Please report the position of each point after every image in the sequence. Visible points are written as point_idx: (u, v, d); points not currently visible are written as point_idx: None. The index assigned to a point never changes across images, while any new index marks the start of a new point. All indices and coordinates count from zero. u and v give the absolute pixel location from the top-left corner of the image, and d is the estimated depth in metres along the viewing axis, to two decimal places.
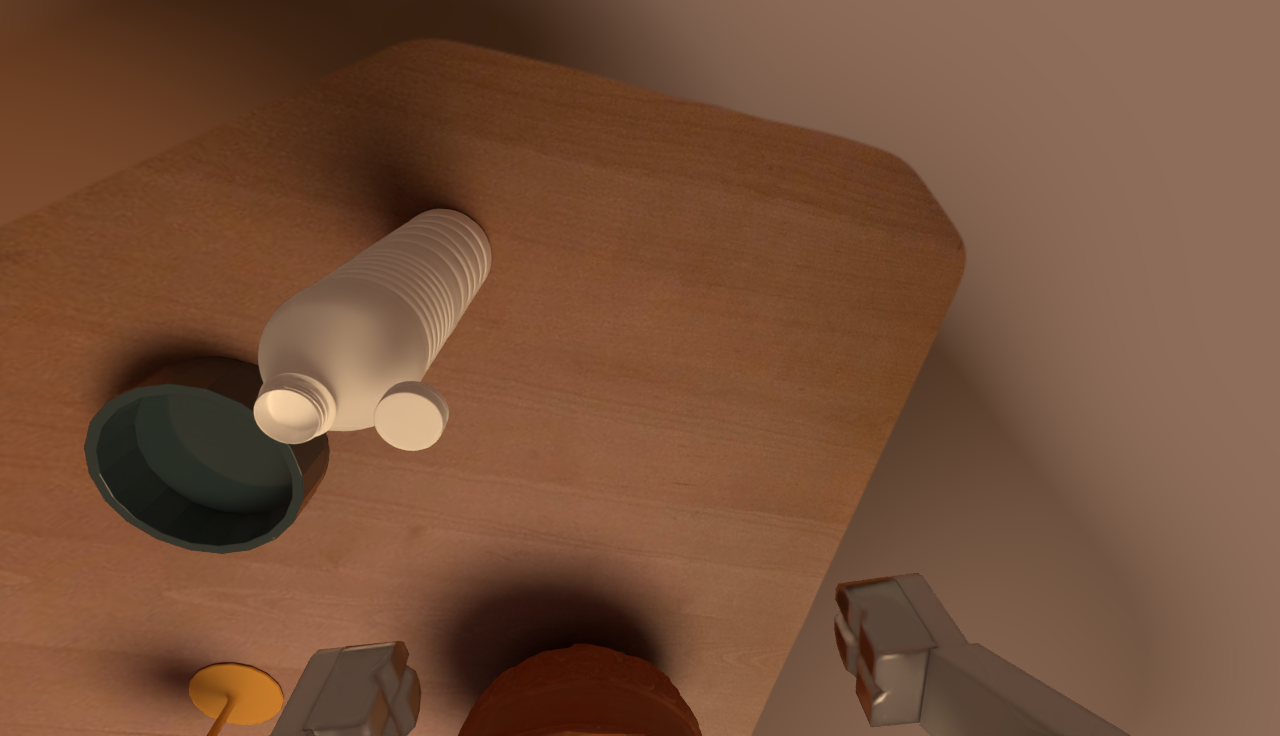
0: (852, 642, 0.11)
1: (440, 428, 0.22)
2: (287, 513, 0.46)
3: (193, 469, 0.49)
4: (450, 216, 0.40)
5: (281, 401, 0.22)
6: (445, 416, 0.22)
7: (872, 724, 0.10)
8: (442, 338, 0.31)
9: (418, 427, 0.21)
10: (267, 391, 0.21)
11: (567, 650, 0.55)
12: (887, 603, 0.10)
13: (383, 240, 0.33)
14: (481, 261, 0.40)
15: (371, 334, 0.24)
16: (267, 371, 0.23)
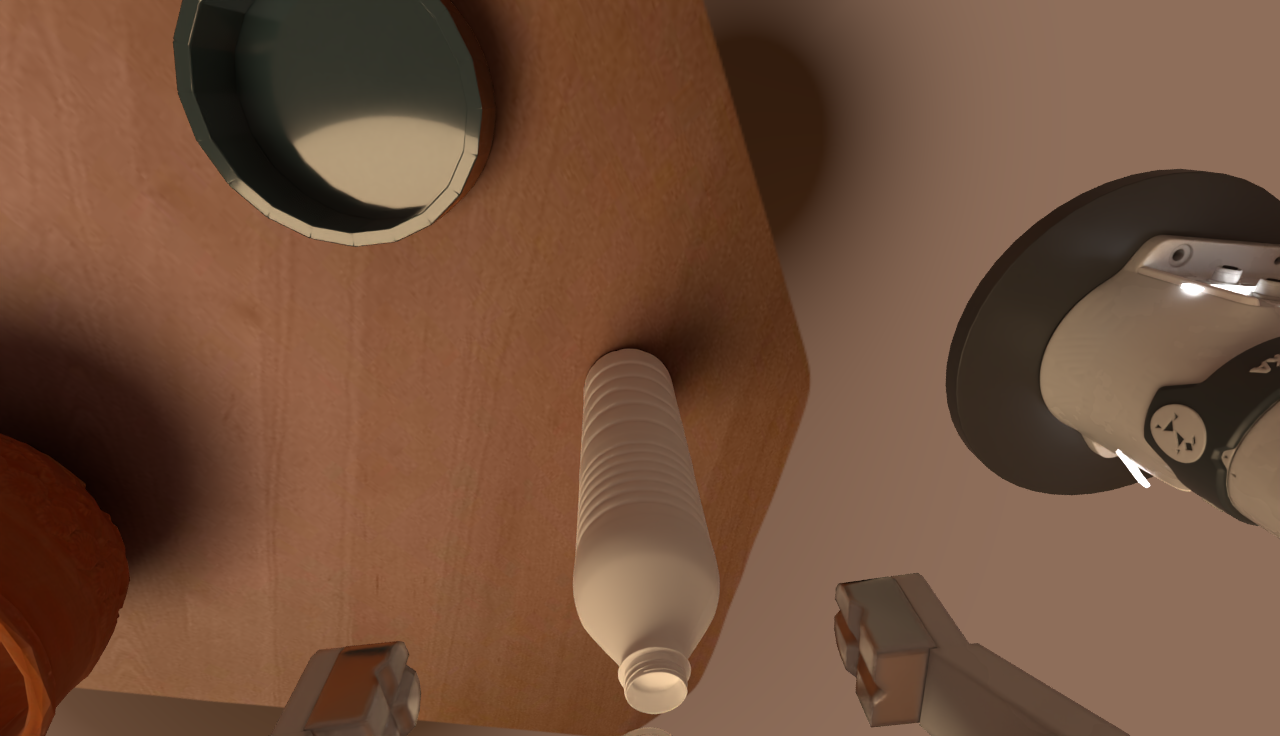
0: (852, 641, 0.11)
1: None
2: (282, 213, 0.33)
3: (311, 35, 0.33)
4: None
5: None
6: None
7: (872, 724, 0.10)
8: None
9: None
10: (685, 684, 0.21)
11: (107, 526, 0.41)
12: (887, 603, 0.10)
13: (687, 448, 0.35)
14: None
15: None
16: (674, 614, 0.23)
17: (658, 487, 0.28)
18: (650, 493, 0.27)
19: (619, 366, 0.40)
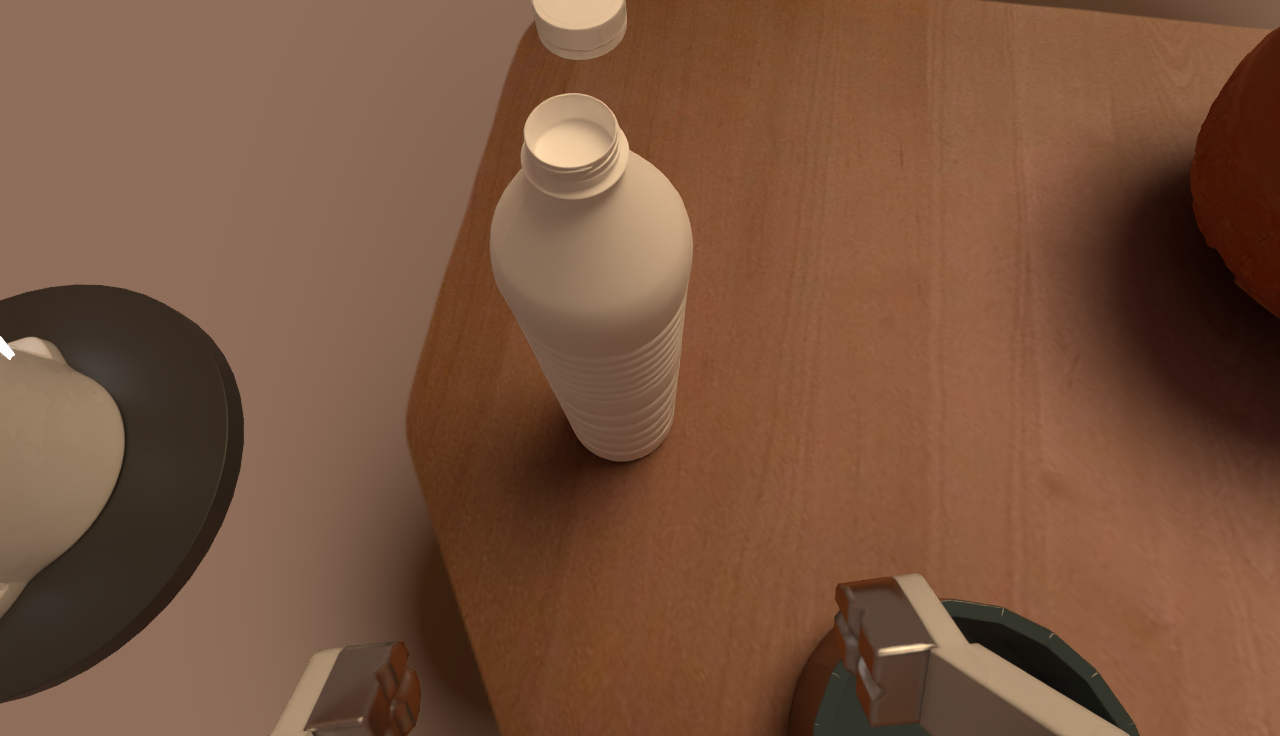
0: (852, 641, 0.11)
1: None
2: (1035, 637, 0.28)
3: None
4: None
5: None
6: None
7: (873, 725, 0.10)
8: None
9: None
10: (527, 145, 0.14)
11: (1214, 236, 0.35)
12: (886, 603, 0.10)
13: None
14: None
15: None
16: (549, 235, 0.16)
17: (581, 369, 0.21)
18: (592, 365, 0.20)
19: (634, 449, 0.34)
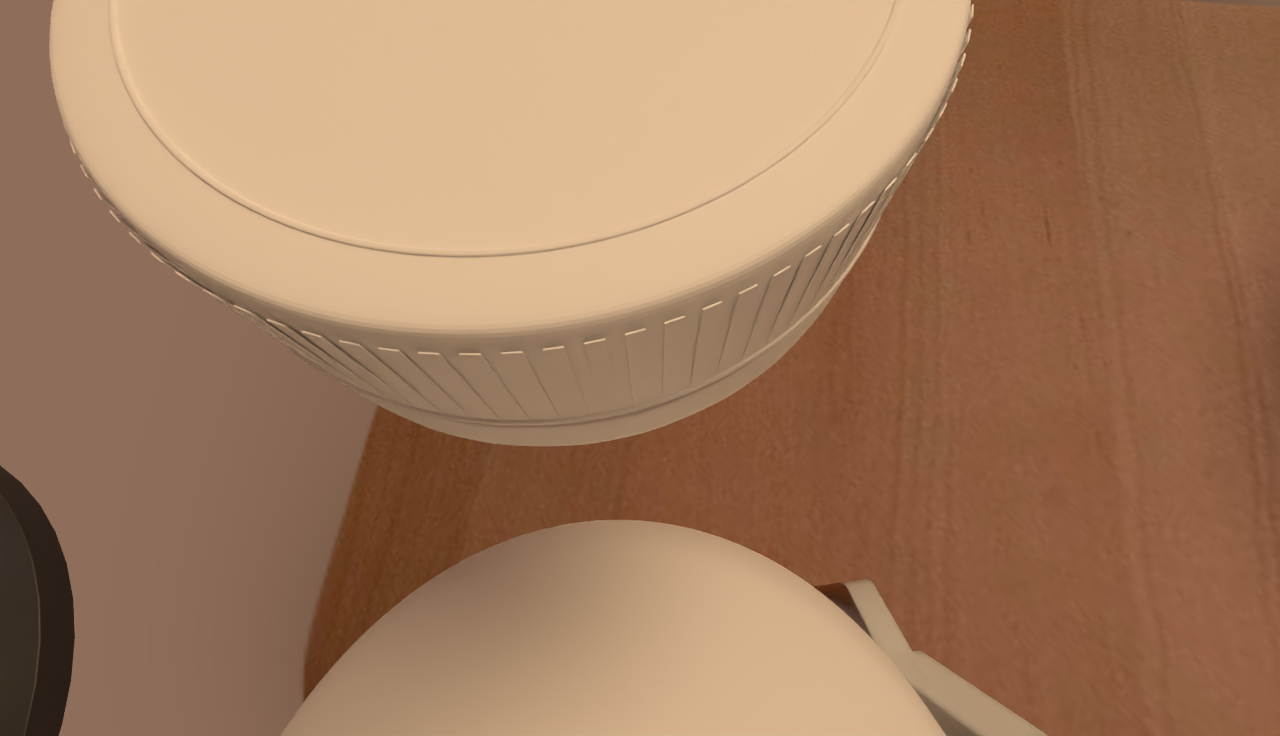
0: None
1: None
2: None
3: None
4: None
5: None
6: None
7: None
8: None
9: None
10: None
11: None
12: None
13: None
14: None
15: (348, 684, 0.04)
16: None
17: None
18: None
19: None
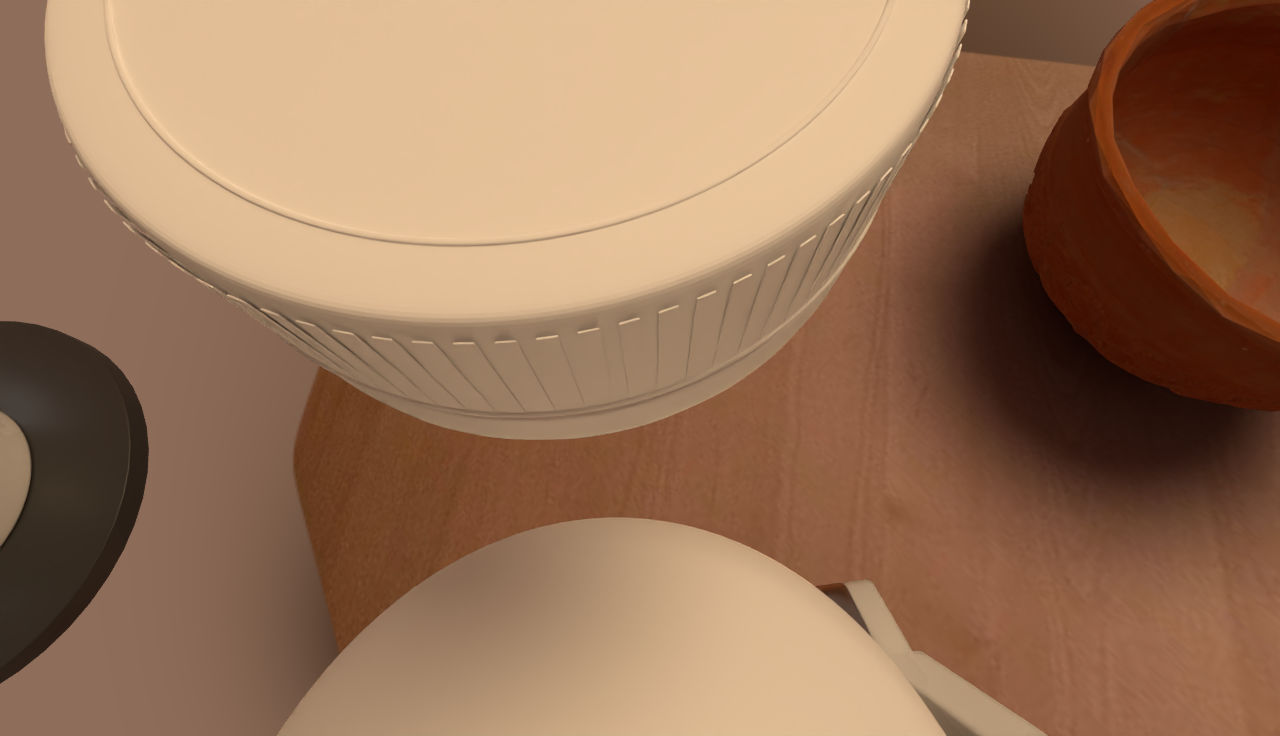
0: None
1: None
2: None
3: None
4: None
5: None
6: None
7: None
8: None
9: None
10: None
11: None
12: None
13: None
14: None
15: (345, 680, 0.04)
16: None
17: None
18: None
19: None
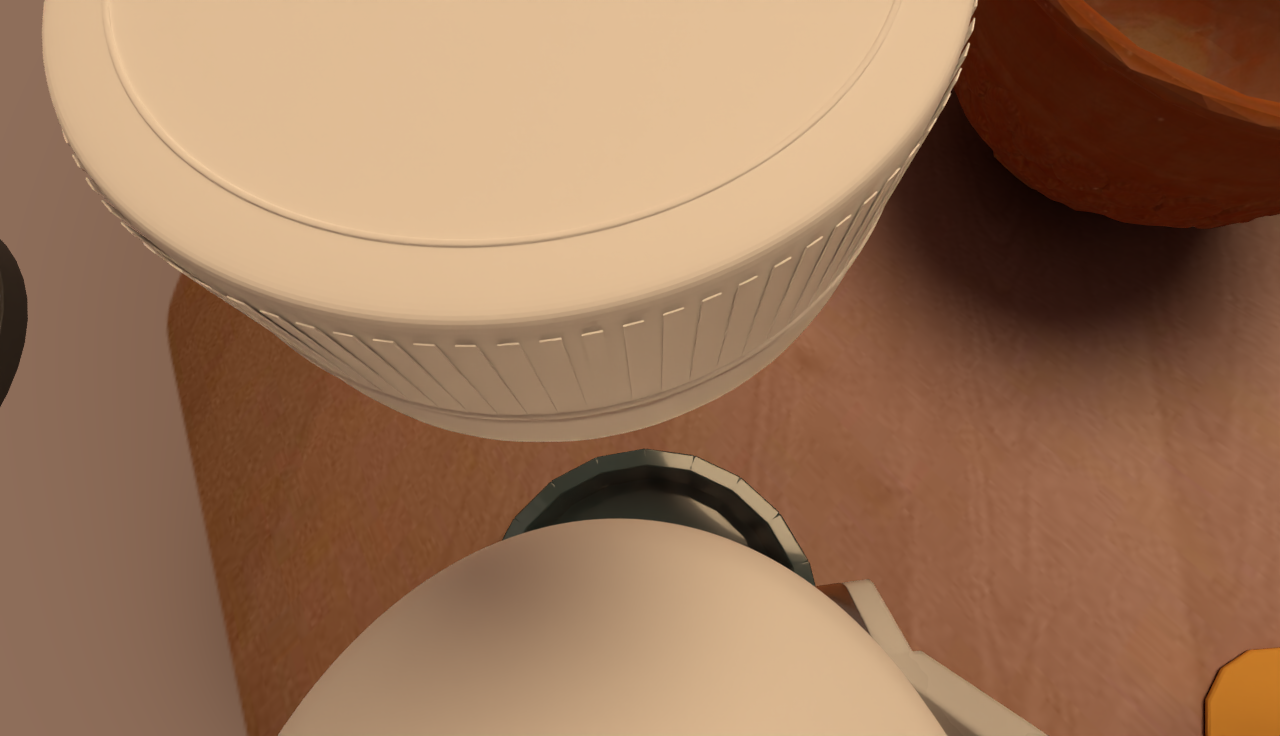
0: None
1: None
2: (722, 483, 0.28)
3: None
4: None
5: None
6: None
7: None
8: None
9: None
10: None
11: None
12: None
13: None
14: None
15: (346, 680, 0.04)
16: None
17: None
18: None
19: None
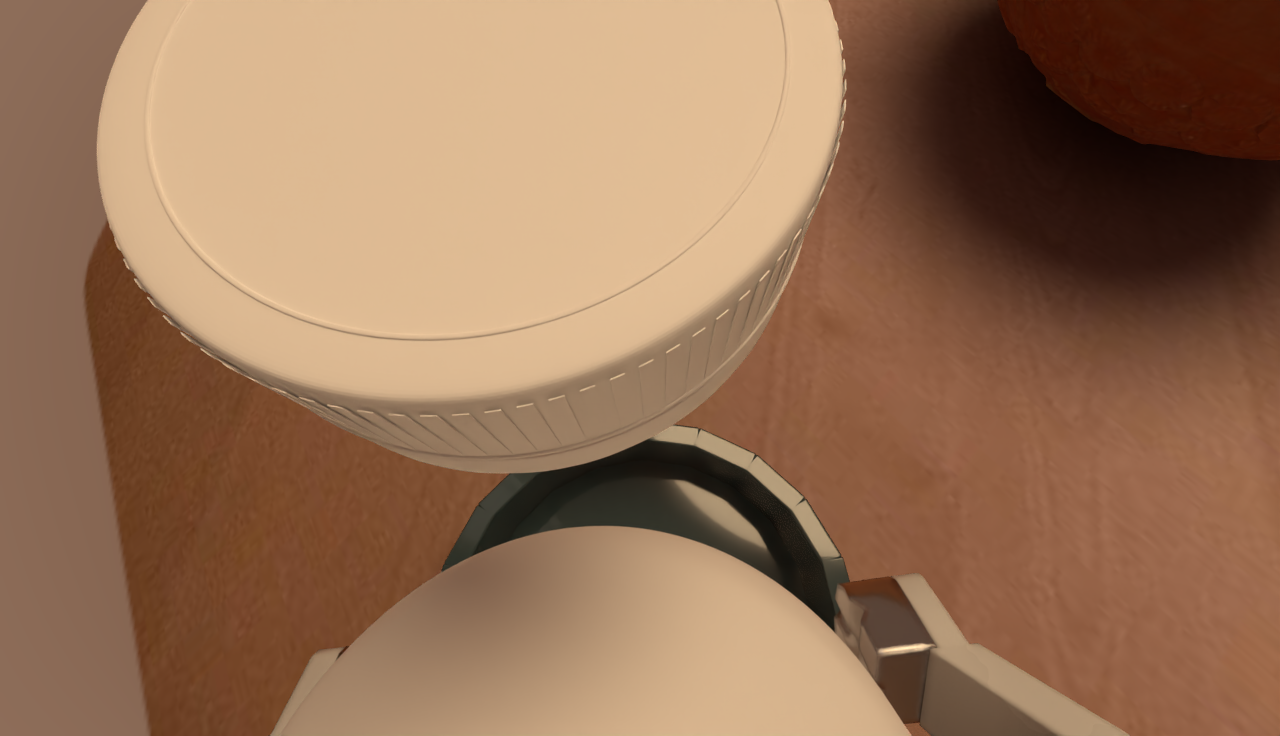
0: (852, 641, 0.11)
1: None
2: (733, 461, 0.22)
3: None
4: None
5: None
6: None
7: None
8: None
9: None
10: None
11: None
12: (887, 603, 0.10)
13: None
14: None
15: (345, 678, 0.05)
16: None
17: None
18: None
19: None
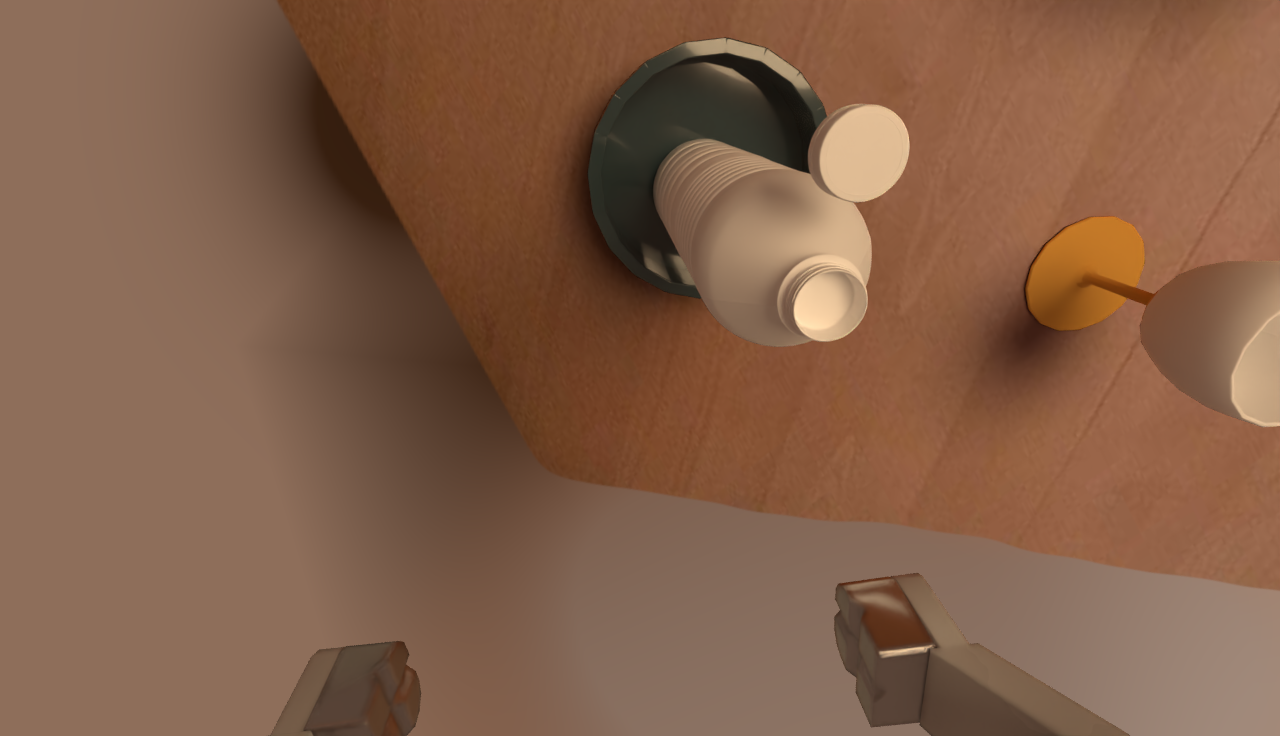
0: (852, 642, 0.11)
1: (882, 109, 0.15)
2: (784, 76, 0.34)
3: None
4: (659, 176, 0.37)
5: (811, 314, 0.18)
6: (866, 104, 0.16)
7: (872, 724, 0.10)
8: (779, 165, 0.25)
9: (875, 141, 0.16)
10: (794, 319, 0.18)
11: None
12: (887, 603, 0.10)
13: (670, 233, 0.31)
14: (708, 143, 0.35)
15: (750, 215, 0.20)
16: (777, 329, 0.20)
17: None
18: None
19: None
